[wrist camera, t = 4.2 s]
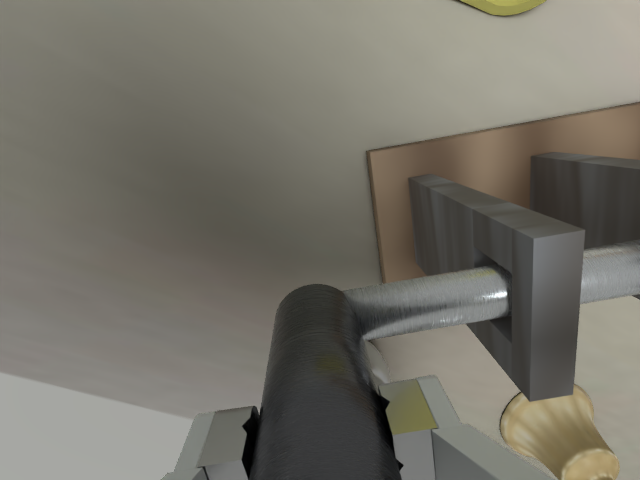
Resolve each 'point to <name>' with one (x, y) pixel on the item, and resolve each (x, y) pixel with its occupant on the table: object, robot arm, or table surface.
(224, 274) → the table surface
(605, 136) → the shaft frame
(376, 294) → the shaft
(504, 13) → the plastic component
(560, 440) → the hand bell
